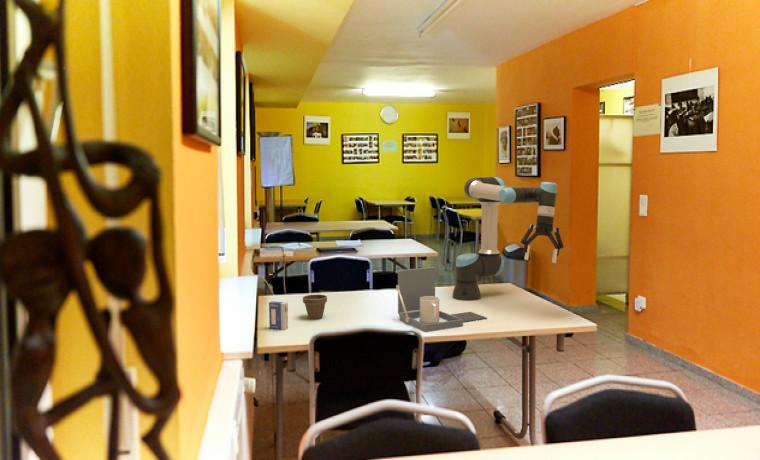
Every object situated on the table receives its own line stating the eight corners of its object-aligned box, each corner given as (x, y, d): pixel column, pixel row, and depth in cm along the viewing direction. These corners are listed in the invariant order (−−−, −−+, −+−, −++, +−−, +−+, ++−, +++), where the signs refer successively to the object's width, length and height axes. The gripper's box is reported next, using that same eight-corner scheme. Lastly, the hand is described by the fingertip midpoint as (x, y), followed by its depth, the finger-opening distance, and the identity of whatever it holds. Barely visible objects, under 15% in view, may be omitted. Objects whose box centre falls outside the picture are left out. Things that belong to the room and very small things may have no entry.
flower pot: (298, 317, 279) (298, 296, 278) (319, 313, 286) (318, 292, 285) (311, 322, 270) (310, 300, 269) (331, 318, 277) (331, 297, 276)
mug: (417, 320, 272) (417, 296, 271) (435, 319, 275) (435, 295, 273) (425, 327, 261) (425, 302, 260) (444, 325, 263) (444, 301, 262)
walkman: (269, 328, 259) (268, 301, 258) (272, 327, 262) (272, 300, 261) (285, 330, 257) (284, 303, 255) (288, 328, 259) (287, 301, 258)
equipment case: (396, 319, 274) (396, 270, 271) (433, 314, 283) (433, 267, 281) (423, 332, 253) (423, 279, 250) (462, 326, 262) (463, 275, 260)
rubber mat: (444, 316, 279) (444, 315, 279) (470, 312, 286) (470, 311, 286) (460, 323, 267) (460, 321, 267) (487, 318, 274) (487, 317, 274)
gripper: (523, 212, 268) (517, 259, 268) (574, 218, 271) (569, 264, 272) (517, 212, 275) (511, 257, 275) (567, 218, 279) (561, 263, 279)
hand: (540, 261), depth 274 cm, fingers open, 13 cm apart
